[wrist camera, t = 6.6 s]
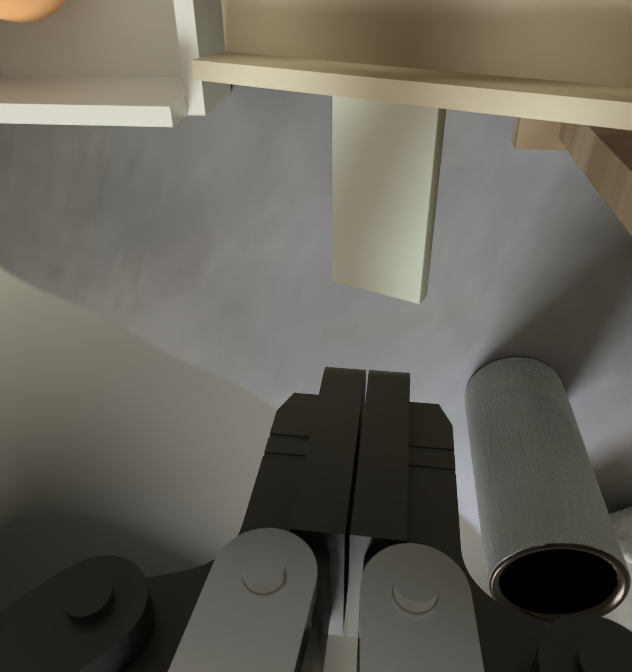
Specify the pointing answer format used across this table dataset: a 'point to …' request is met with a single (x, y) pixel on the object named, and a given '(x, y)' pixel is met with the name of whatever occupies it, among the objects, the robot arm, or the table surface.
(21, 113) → the white open box
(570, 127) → the lever stand
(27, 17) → the ball
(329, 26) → the lever
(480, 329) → the table surface
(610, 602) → the planter
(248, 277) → the table surface
